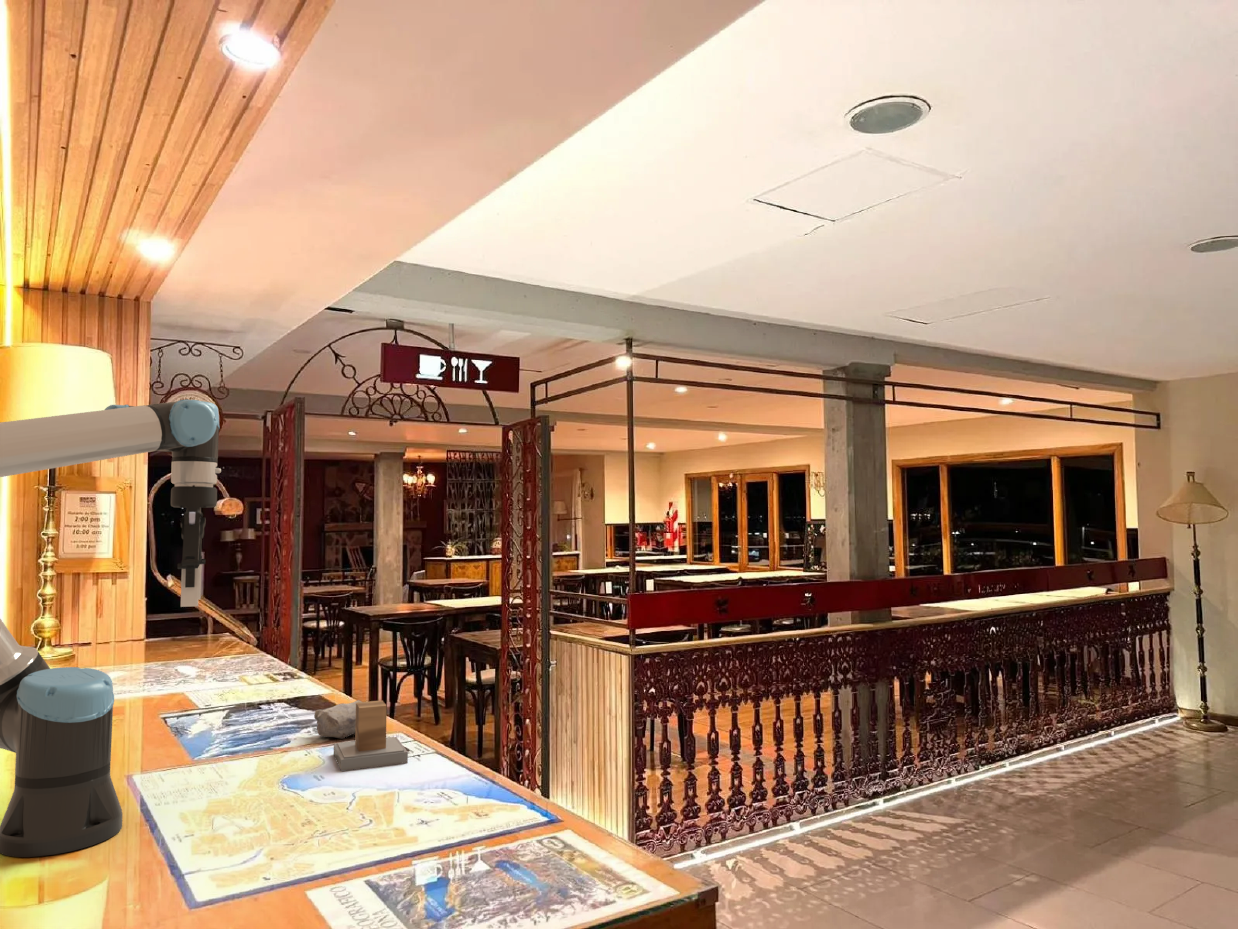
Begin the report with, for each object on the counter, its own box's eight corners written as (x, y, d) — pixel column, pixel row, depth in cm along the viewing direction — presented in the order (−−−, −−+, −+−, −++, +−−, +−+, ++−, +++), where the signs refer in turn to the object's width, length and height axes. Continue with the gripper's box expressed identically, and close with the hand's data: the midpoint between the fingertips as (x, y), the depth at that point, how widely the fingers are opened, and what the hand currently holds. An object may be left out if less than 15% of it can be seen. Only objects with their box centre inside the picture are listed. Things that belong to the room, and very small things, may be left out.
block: (385, 748, 160) (386, 705, 160) (358, 751, 158) (359, 708, 158) (381, 742, 164) (382, 700, 165) (355, 744, 162) (355, 702, 163)
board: (407, 763, 158) (407, 750, 158) (340, 771, 153) (341, 758, 153) (396, 747, 169) (396, 735, 169) (333, 754, 164) (333, 742, 164)
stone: (311, 736, 178) (311, 703, 178) (367, 728, 184) (368, 696, 185) (320, 745, 171) (321, 711, 172) (379, 736, 178) (379, 703, 178)
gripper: (216, 483, 144) (212, 608, 143) (218, 488, 167) (215, 596, 165) (166, 483, 141) (162, 610, 140) (175, 487, 164) (172, 597, 162)
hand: (191, 603), depth 152 cm, fingers open, 13 cm apart
